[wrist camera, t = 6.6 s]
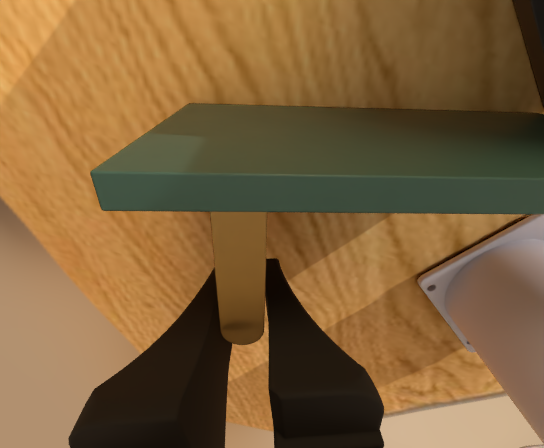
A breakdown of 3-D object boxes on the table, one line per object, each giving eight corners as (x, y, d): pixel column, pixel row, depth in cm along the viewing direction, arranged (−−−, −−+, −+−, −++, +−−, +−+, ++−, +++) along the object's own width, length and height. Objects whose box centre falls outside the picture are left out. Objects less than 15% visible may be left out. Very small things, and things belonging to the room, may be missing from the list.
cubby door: (479, 233, 16) (652, 373, 9) (202, 232, 15) (154, 384, 8) (537, 112, 13) (881, 183, 6) (188, 103, 12) (87, 171, 5)
